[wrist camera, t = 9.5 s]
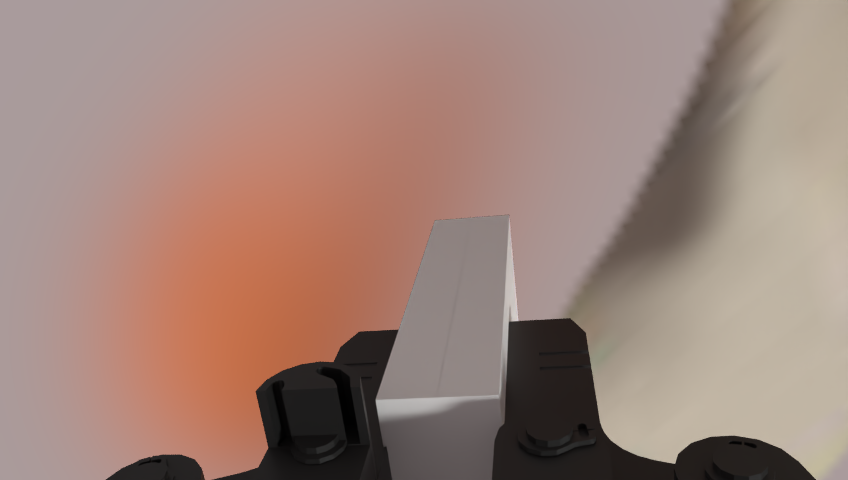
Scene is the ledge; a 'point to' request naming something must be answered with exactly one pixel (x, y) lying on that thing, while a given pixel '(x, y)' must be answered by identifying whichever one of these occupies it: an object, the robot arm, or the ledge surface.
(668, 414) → the ledge surface
